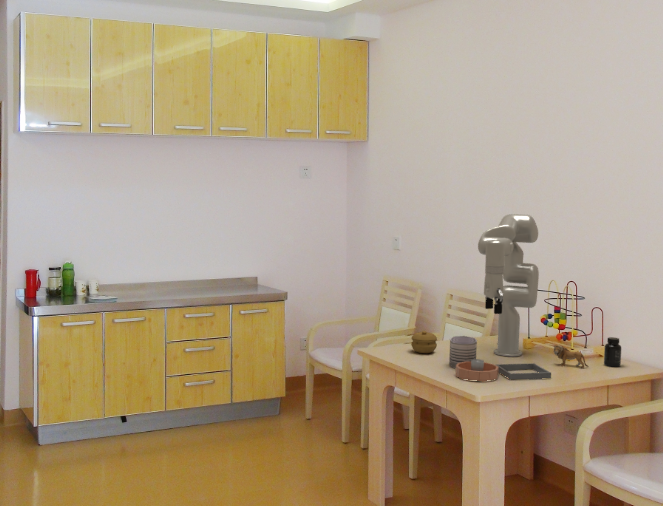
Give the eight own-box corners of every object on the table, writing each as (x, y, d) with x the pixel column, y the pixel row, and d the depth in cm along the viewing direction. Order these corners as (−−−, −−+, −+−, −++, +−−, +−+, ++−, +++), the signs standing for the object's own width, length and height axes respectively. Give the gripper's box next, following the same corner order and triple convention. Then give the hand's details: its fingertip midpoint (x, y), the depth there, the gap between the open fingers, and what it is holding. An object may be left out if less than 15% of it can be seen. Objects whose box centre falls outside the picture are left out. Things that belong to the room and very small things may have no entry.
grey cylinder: (468, 373, 305) (469, 359, 304) (480, 373, 306) (481, 358, 305) (473, 376, 300) (473, 362, 300) (485, 376, 301) (485, 361, 300)
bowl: (450, 371, 310) (450, 361, 309) (488, 370, 313) (488, 360, 312) (464, 382, 293) (464, 372, 293) (504, 381, 296) (504, 370, 296)
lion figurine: (552, 365, 323) (553, 345, 322) (553, 363, 328) (554, 343, 327) (588, 369, 318) (589, 348, 317) (588, 366, 323) (589, 346, 322)
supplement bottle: (619, 364, 327) (621, 337, 326) (621, 368, 321) (622, 340, 320) (603, 363, 329) (604, 336, 328) (604, 366, 323) (605, 339, 322)
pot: (441, 352, 345) (442, 331, 344) (426, 356, 336) (427, 334, 335) (421, 348, 353) (421, 327, 352) (405, 352, 344) (406, 330, 343)
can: (479, 365, 322) (480, 338, 320) (470, 371, 312) (471, 342, 311) (454, 361, 327) (455, 334, 326) (444, 367, 318) (445, 339, 317)
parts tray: (494, 370, 314) (494, 364, 313) (534, 369, 317) (534, 363, 316) (509, 380, 298) (509, 374, 298) (550, 378, 301) (551, 372, 301)
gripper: (478, 267, 313) (477, 307, 316) (493, 273, 296) (492, 316, 299) (495, 266, 314) (494, 306, 317) (511, 273, 297) (510, 315, 300)
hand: (493, 311), depth 308 cm, fingers open, 9 cm apart
